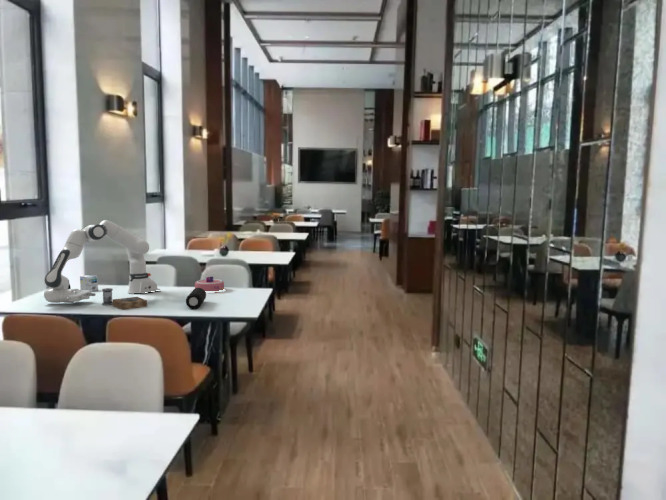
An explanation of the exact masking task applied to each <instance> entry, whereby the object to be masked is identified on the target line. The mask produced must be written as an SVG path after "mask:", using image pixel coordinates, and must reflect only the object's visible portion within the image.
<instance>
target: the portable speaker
mask: <svg viewBox="0 0 666 500" xmlns="http://www.w3.org/2000/svg"><path fill="white" fill-rule="evenodd" d="M192 290H193V291H192ZM192 290H191V291H190V293H189V294H188V295H187V296H186V298H185V305H186V306H187V307H188V308H190V309H191V308H196V309H199V308H200V307H201V305H203V302H204V301H205V300H206V297H207V294H206V292H205V291H204V290H203V289H202V288H195V287H194V289H192Z"/></svg>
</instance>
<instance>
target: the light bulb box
mask: <svg viewBox="0 0 666 500" xmlns="http://www.w3.org/2000/svg"><path fill="white" fill-rule="evenodd" d="M98 282H99V281H98V275H86V274H85V275H80V276H79V285H80V288H79V290H89V291H91V292H96V291H98V290H99V283H98Z"/></svg>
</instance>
